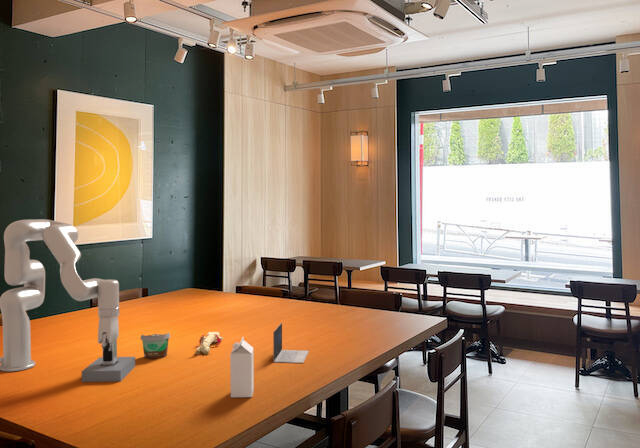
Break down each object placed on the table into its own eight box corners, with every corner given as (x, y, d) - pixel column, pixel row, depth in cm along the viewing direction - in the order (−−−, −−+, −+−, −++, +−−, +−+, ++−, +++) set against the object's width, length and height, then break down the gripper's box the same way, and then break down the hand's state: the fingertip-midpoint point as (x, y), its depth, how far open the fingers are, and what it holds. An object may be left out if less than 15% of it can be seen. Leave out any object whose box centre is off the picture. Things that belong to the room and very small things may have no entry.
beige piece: (213, 357, 227) (225, 338, 252) (212, 338, 226) (225, 321, 251) (190, 357, 228) (205, 338, 253) (190, 338, 227) (204, 321, 252)
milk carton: (253, 390, 183) (253, 336, 182) (251, 397, 176) (251, 341, 175) (233, 390, 183) (233, 336, 182) (230, 398, 176) (230, 341, 175)
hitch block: (81, 382, 192) (81, 371, 192) (99, 367, 210) (99, 357, 210) (120, 381, 193) (120, 370, 192) (135, 366, 210) (135, 356, 210)
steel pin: (102, 367, 199) (102, 339, 199) (106, 364, 203) (106, 336, 203) (113, 367, 199) (113, 339, 199) (117, 364, 203) (116, 336, 203)
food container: (139, 361, 218) (139, 337, 218) (140, 356, 224) (140, 333, 224) (170, 358, 221) (170, 335, 221) (170, 354, 227) (170, 331, 227)
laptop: (303, 364, 214) (303, 332, 214) (273, 363, 216) (272, 332, 215) (308, 352, 232) (308, 323, 232) (281, 351, 234) (281, 322, 233)
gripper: (106, 308, 208) (107, 353, 209) (90, 316, 192) (91, 366, 192) (125, 307, 209) (126, 353, 209) (111, 316, 192) (112, 365, 193)
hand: (109, 359), depth 201 cm, fingers closed on steel pin, 4 cm apart
